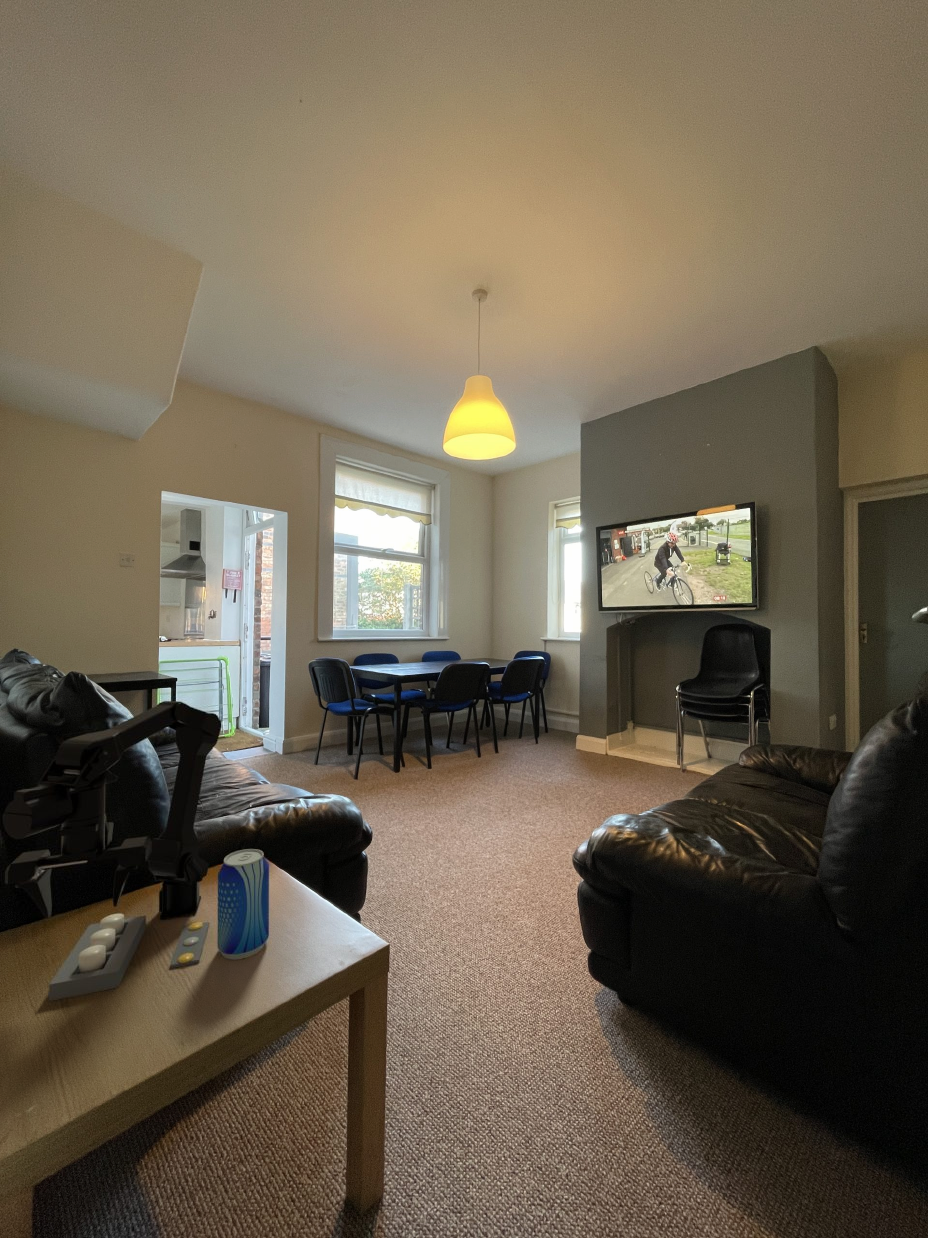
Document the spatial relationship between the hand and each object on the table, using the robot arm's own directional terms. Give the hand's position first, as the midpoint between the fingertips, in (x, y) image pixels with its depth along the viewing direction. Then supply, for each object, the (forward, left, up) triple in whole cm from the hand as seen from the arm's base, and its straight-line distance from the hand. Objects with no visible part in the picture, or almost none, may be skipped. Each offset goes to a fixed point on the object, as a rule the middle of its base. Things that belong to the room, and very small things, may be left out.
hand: (82, 911), depth 84 cm
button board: (-2, -3, -10) cm, 11 cm away
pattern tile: (-15, -3, -10) cm, 19 cm away
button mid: (-2, -3, -8) cm, 9 cm away
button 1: (-2, +2, -8) cm, 9 cm away
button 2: (-2, -8, -8) cm, 12 cm away
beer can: (-24, +1, -11) cm, 27 cm away
